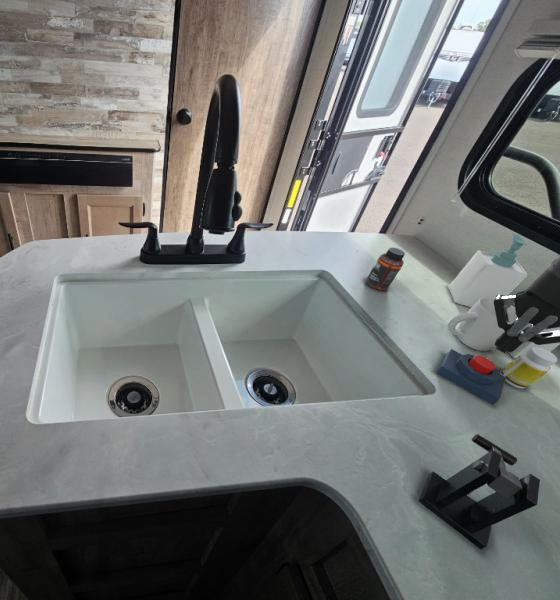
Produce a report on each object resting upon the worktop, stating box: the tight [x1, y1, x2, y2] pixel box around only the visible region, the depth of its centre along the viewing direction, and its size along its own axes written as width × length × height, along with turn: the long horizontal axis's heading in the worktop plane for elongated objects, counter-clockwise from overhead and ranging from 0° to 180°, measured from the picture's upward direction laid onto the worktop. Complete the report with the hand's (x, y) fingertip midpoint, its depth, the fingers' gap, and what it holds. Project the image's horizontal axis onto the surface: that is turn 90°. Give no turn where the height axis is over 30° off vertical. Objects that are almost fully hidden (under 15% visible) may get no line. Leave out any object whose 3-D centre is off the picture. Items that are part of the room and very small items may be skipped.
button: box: [469, 354, 496, 374], centre depth 67 cm, size 4×4×2 cm
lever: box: [471, 433, 522, 499], centre depth 46 cm, size 12×5×2 cm, turn 134°
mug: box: [447, 298, 517, 352], centre depth 76 cm, size 13×9×10 cm
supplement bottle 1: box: [365, 247, 406, 291], centre depth 91 cm, size 6×6×11 cm
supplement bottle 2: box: [499, 347, 559, 389], centre depth 68 cm, size 5×5×8 cm
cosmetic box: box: [506, 323, 560, 359], centre depth 74 cm, size 6×4×12 cm
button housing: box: [435, 348, 506, 405], centre depth 69 cm, size 8×10×4 cm
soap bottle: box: [448, 232, 529, 308], centre depth 87 cm, size 9×9×19 cm
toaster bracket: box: [418, 450, 541, 550], centre depth 45 cm, size 6×8×12 cm
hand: (500, 349), depth 64 cm, fingers closed
